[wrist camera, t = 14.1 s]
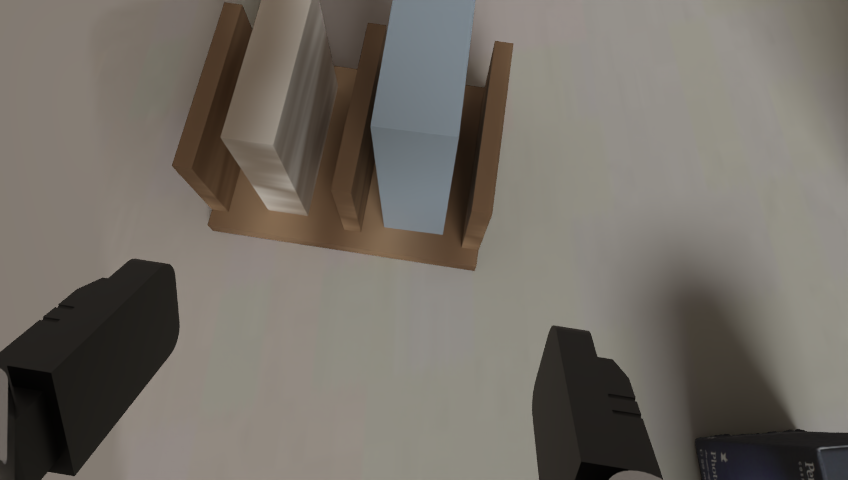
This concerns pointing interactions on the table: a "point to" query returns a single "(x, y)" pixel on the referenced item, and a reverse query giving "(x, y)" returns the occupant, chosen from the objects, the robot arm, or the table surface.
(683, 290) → the table surface
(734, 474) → the small box
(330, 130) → the rack
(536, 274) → the table surface
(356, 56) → the table surface
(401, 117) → the pale blue upright slab
